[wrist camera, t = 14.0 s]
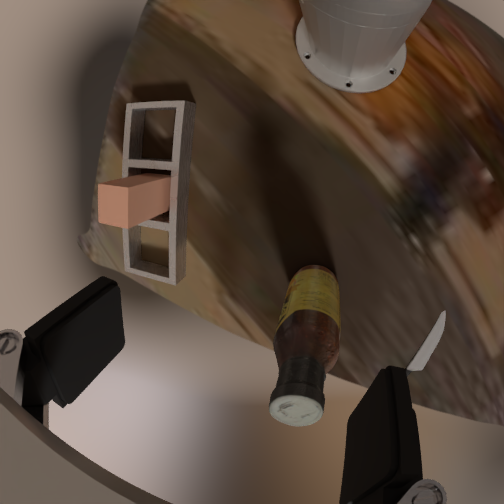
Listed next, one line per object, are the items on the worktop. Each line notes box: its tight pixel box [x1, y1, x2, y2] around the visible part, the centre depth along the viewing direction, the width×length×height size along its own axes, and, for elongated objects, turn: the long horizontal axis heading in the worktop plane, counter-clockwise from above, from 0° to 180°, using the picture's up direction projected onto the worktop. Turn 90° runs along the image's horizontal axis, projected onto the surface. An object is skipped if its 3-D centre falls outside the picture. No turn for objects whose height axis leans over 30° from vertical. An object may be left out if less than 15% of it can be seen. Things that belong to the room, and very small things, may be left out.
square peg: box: [98, 173, 171, 229], centre depth 33 cm, size 4×4×10 cm
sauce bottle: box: [269, 265, 340, 426], centre depth 27 cm, size 6×6×20 cm
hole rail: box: [122, 101, 196, 285], centre depth 36 cm, size 23×9×3 cm, turn 174°
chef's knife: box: [405, 311, 446, 376], centre depth 36 cm, size 19×1×3 cm
